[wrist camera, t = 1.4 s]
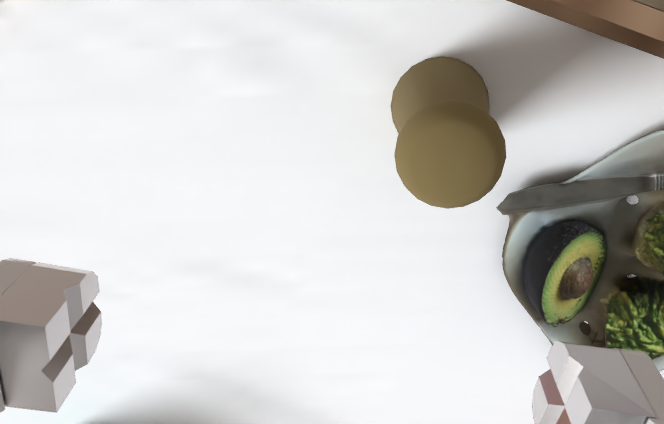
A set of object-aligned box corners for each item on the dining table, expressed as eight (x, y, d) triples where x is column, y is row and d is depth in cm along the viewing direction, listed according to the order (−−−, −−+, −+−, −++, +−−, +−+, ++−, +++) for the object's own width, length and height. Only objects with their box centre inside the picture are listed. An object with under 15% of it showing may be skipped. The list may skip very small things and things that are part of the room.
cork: (510, 95, 35) (550, 153, 25) (446, 170, 38) (460, 249, 28) (431, 36, 34) (441, 72, 24) (371, 116, 37) (358, 179, 27)
